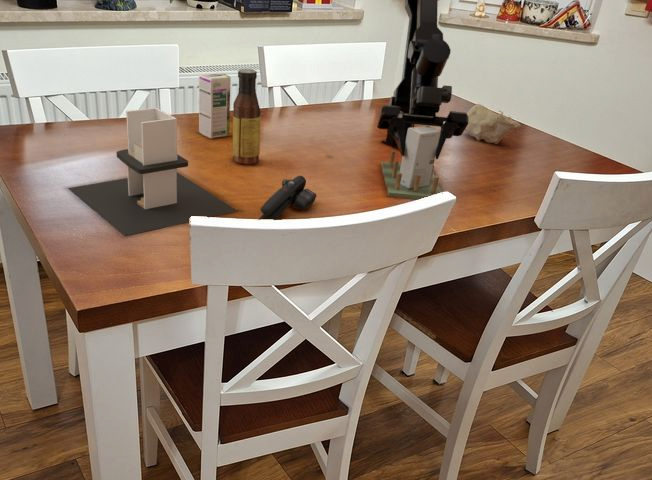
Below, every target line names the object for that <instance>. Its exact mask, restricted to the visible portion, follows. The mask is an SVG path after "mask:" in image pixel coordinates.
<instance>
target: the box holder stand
mask: <svg viewBox="0 0 652 480" xmlns="http://www.w3.org/2000/svg"><path fill="white" fill-rule="evenodd" d="M125 117H126V134H127V135H126V137H127V148H126V149H120V150H117V151H116V158H117V159H119V160H120V161H121V162H122V163H123V164H124V165H126V168H127V177H125V178H119V179H112V180H107V181H101V182H96V183H95V182H94V183H90V184H84V185H78V186H72V187H67V188H68V190H70V192H71V193H73V194H74V195H76V196H77V198H79V199H80V200H81V201H82V202H84V203H85V204H86V205H87V206H89V207H90V208H91V209H92V210H93V211H95V212H96V213H97V214H98V215H100V216H101V217H102V218H103V219H104V220H105V221H106V222H107V223H109V224H110V225H111V226H112V227H114V228H115V229H116V230H117V231H119V232H120V233H121V234H122V235H123V236H125V237H127V236H131V235H132V236H133V235H137V234H140V233H145V232H149V231H154V230H158V229H162V228H168V227H173V226H176V225H177V226H178V225H181V224H185V223H190V222H189V218H190V217H191V216H207V217H208V218H213V217H217V216H221V215H225V214H231V213H235V212H239V210H238V209H236V208H234V207H233V206H231V204H228V203H227V202H225V201H224V200H222V199H220V198H218V197H217V196H216V195H214V194H213V193H211V192H209V191H208V190H206V189H205V188H203V187H202V186H200V185H198V184H197V183H195V182H194V181H191V180H190V179H189V178H187V177H186V176H184V175H183V174H181V173H179V172H178V171H177V169H181V168H182V169H183V168H187V167H189V160H187V159H186V158H185V157H183V156H181V155H179V154H178V118H176V117H175V116H173V115H171V114H169V113H167V112H165V111H163V110H162V109H160V108H157V107H151V108H150V107H149V108H141V109H131V110H126V111H125Z"/></svg>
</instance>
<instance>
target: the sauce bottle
mask: <svg viewBox="0 0 652 480" xmlns="http://www.w3.org/2000/svg"><path fill="white" fill-rule="evenodd" d="M257 75H258V73H257V70H255V69H252V68H242V69H238V71H237V77H238V89H237V90H238V93H237V95H236V97H235V99H234V101H233V107H232V108H233V115H232V155H233V161H234V162H235V163H238V164H240V165H248V166H249V165H250V166H251V165H255V164H257V163H258V162H259V160H260V154H261V153H260V152H261V119H262V117H261V116H262V115H261V114H262V111H261V107H260V104H259V99H258V95H257V89H256V87H257V86H256V85H257V84H256V83H257V78H258V76H257Z"/></svg>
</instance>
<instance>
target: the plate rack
mask: <svg viewBox="0 0 652 480" xmlns="http://www.w3.org/2000/svg"><path fill="white" fill-rule="evenodd" d="M395 157H396V150H391V151H390V155H389V161H381V164H380V167H381V171H382V177H383V180H384V185H385V189H386V193H387V194H386V195H387V197H390V198H400V199H411V200H419V199H421V198H424V197H428V196H431V195H433V194H437V193H440V192H442V193H443V191H442V189H441V186H440V184H439V181H440V176H438V175H436V174H435V172H434V169H435V165H433V169H432V174H431V178H430V183H429V185H428V186H424V187H418V186H419V181H420V177H421V175H419V174H417V175H416V178H415V182H414V187H413V188H411V189H409V188H407V187H405V186H403V185H401V184H400V183H401V177H402V173H400V167H401V162H399V161H398V160H395Z"/></svg>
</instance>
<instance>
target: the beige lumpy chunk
mask: <svg viewBox="0 0 652 480" xmlns="http://www.w3.org/2000/svg"><path fill="white" fill-rule="evenodd" d="M466 114H467V115H468V117H469V119H468V125H467V127H466V128H465V129H466V130H467V132H468V135H470V136H471V137H473V138H475V139H476V140H477V141H478V142H480V141H481V140H483V141H485V143H487V144H494V145H498V144H499V143H500V142H501V140H502V139H504V137H506V136H507V135H508V134H509V133H512V132H513V131H516V130H519V129H520V128H521V127H522V124H520V123H519V122H518V121H517V120H513V119H512V117H511V116H506V115H505V114H504V111H501V110H498V113H497V112H494V111H492V110H491V109H489V108H487V107H486V106H485V105H482V104H481V103H476V104H475V105H473V106H472V107H471V108H469V110H468V111H467V112H466Z"/></svg>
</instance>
